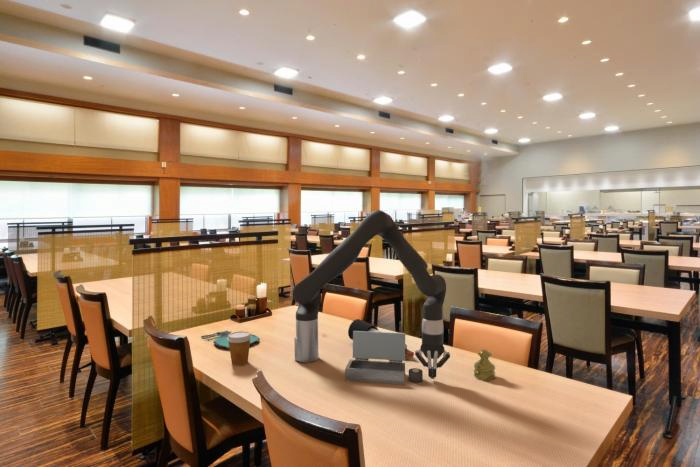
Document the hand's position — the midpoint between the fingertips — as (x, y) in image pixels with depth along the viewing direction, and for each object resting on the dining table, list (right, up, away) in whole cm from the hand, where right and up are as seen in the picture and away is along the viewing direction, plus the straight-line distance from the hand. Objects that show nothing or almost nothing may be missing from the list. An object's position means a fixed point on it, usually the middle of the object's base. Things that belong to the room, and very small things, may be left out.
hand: (432, 377), depth 144 cm
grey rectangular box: (-20, -1, +4) cm, 20 cm away
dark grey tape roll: (-6, -1, +1) cm, 6 cm away
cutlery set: (-87, 0, +48) cm, 99 cm away
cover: (-19, +9, +8) cm, 22 cm away
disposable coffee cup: (-75, -1, +19) cm, 77 cm away
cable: (-16, 0, +33) cm, 37 cm away
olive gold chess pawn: (+20, -1, +3) cm, 20 cm away
